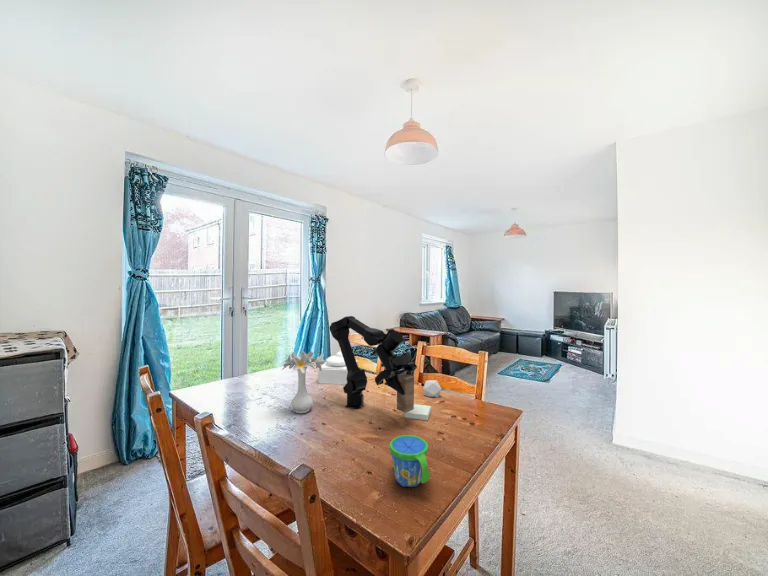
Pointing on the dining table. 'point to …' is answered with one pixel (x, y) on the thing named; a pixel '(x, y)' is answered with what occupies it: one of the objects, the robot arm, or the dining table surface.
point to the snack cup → (409, 460)
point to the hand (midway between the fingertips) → (408, 392)
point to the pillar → (406, 393)
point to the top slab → (419, 412)
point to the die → (432, 388)
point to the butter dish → (333, 371)
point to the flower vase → (302, 379)
